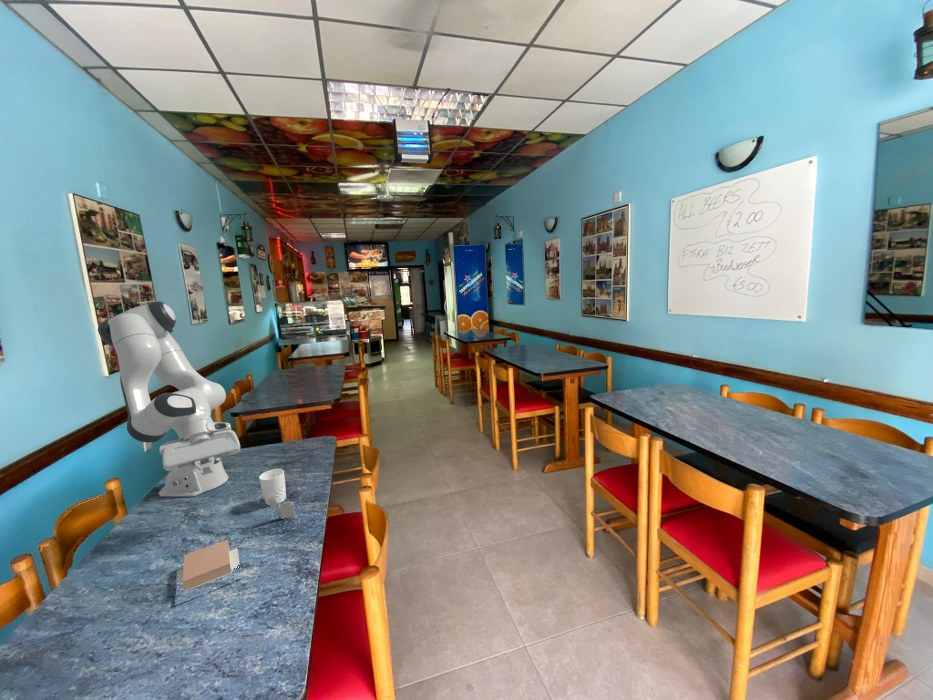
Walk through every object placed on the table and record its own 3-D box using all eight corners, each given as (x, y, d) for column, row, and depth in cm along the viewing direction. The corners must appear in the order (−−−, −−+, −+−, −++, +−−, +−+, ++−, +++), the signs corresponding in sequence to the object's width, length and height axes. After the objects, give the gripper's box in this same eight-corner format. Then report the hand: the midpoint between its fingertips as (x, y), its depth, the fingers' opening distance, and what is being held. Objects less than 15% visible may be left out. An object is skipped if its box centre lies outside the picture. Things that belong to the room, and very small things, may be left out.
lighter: (295, 513, 126) (291, 491, 125) (295, 516, 125) (291, 493, 123) (271, 520, 123) (267, 497, 122) (271, 523, 122) (267, 500, 120)
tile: (184, 554, 104) (182, 581, 94) (227, 539, 109) (229, 563, 99) (186, 564, 104) (184, 592, 94) (229, 548, 110) (231, 573, 100)
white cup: (292, 494, 139) (288, 468, 137) (279, 506, 131) (275, 479, 129) (272, 494, 140) (267, 468, 138) (258, 506, 132) (253, 479, 130)
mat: (177, 572, 102) (177, 570, 102) (237, 549, 110) (237, 548, 110) (174, 607, 91) (173, 604, 91) (241, 579, 98) (241, 577, 98)
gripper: (157, 438, 115) (163, 481, 109) (235, 421, 128) (244, 459, 122) (159, 448, 119) (165, 489, 114) (234, 430, 132) (243, 466, 126)
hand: (207, 473), depth 118 cm, fingers closed
